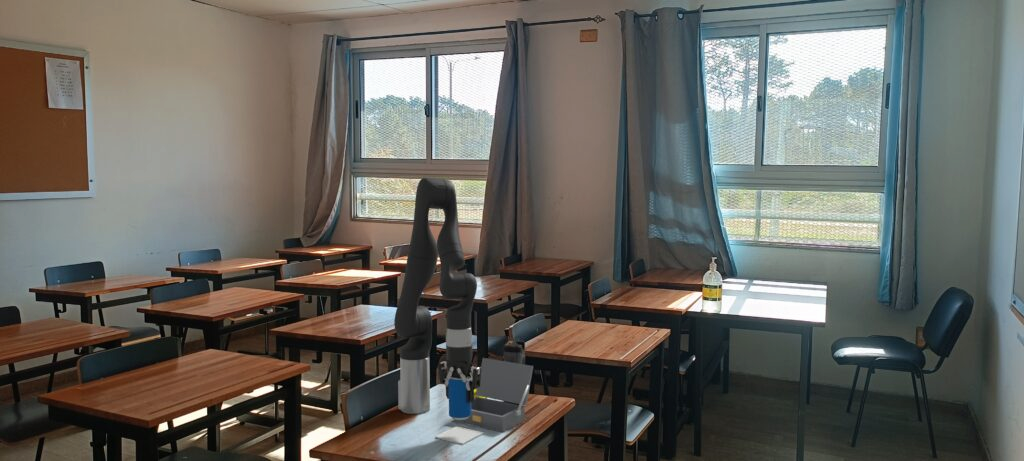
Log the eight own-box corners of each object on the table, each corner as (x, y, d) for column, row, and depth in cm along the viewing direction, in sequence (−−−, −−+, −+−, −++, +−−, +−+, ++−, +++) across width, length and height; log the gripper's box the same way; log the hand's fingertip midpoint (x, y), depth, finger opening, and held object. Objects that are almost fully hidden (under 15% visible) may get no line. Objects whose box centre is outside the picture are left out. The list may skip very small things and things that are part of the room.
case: (451, 421, 219) (451, 369, 218) (484, 406, 233) (484, 357, 232) (504, 433, 209) (504, 378, 207) (535, 416, 223) (535, 365, 222)
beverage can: (474, 414, 209) (474, 374, 208) (466, 421, 203) (465, 380, 202) (454, 412, 211) (453, 372, 210) (445, 419, 205) (444, 378, 204)
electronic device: (520, 407, 232) (520, 346, 230) (502, 406, 233) (502, 346, 232) (525, 399, 241) (525, 340, 240) (508, 398, 242) (508, 339, 241)
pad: (435, 437, 205) (435, 436, 205) (456, 427, 214) (456, 426, 214) (463, 444, 200) (463, 443, 200) (483, 433, 208) (483, 432, 208)
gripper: (431, 342, 206) (432, 399, 207) (471, 348, 198) (472, 408, 199) (447, 337, 212) (448, 393, 213) (487, 343, 204) (488, 400, 206)
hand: (459, 400), depth 206 cm, fingers closed on beverage can, 6 cm apart
